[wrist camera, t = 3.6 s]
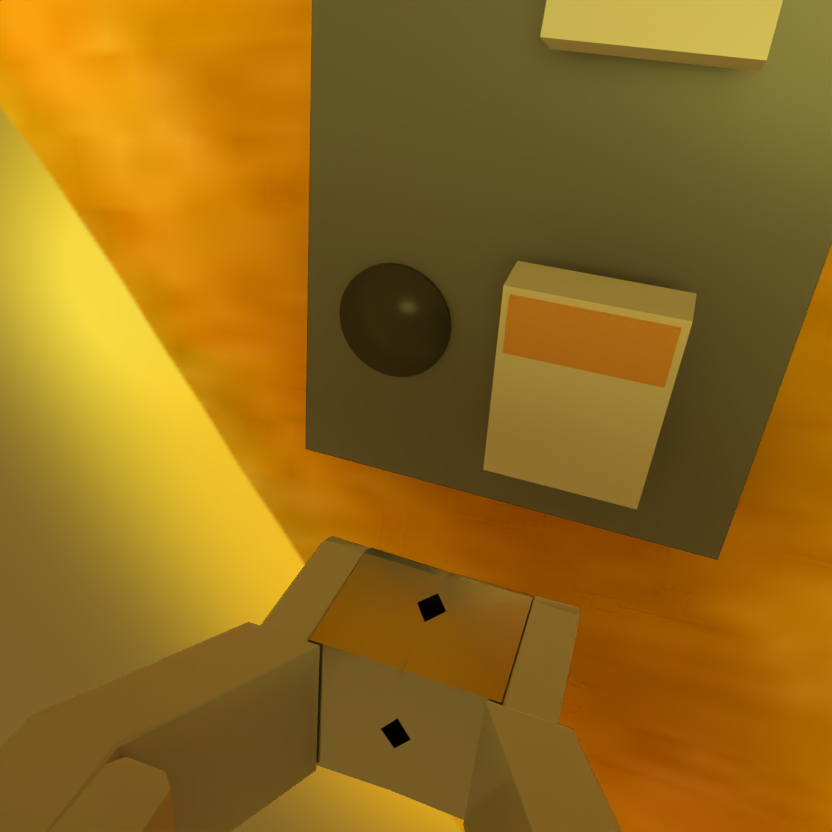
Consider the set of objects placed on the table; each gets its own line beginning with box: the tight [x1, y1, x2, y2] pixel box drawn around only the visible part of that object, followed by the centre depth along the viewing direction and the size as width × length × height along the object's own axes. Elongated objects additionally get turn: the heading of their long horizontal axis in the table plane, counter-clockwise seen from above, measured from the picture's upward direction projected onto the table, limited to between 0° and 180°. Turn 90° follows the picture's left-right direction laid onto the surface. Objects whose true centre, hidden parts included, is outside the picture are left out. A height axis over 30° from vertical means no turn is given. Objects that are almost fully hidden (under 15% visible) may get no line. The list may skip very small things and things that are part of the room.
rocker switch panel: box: [306, 0, 832, 560], centre depth 20 cm, size 22×14×4 cm, turn 174°
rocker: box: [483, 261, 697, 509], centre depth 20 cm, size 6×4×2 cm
